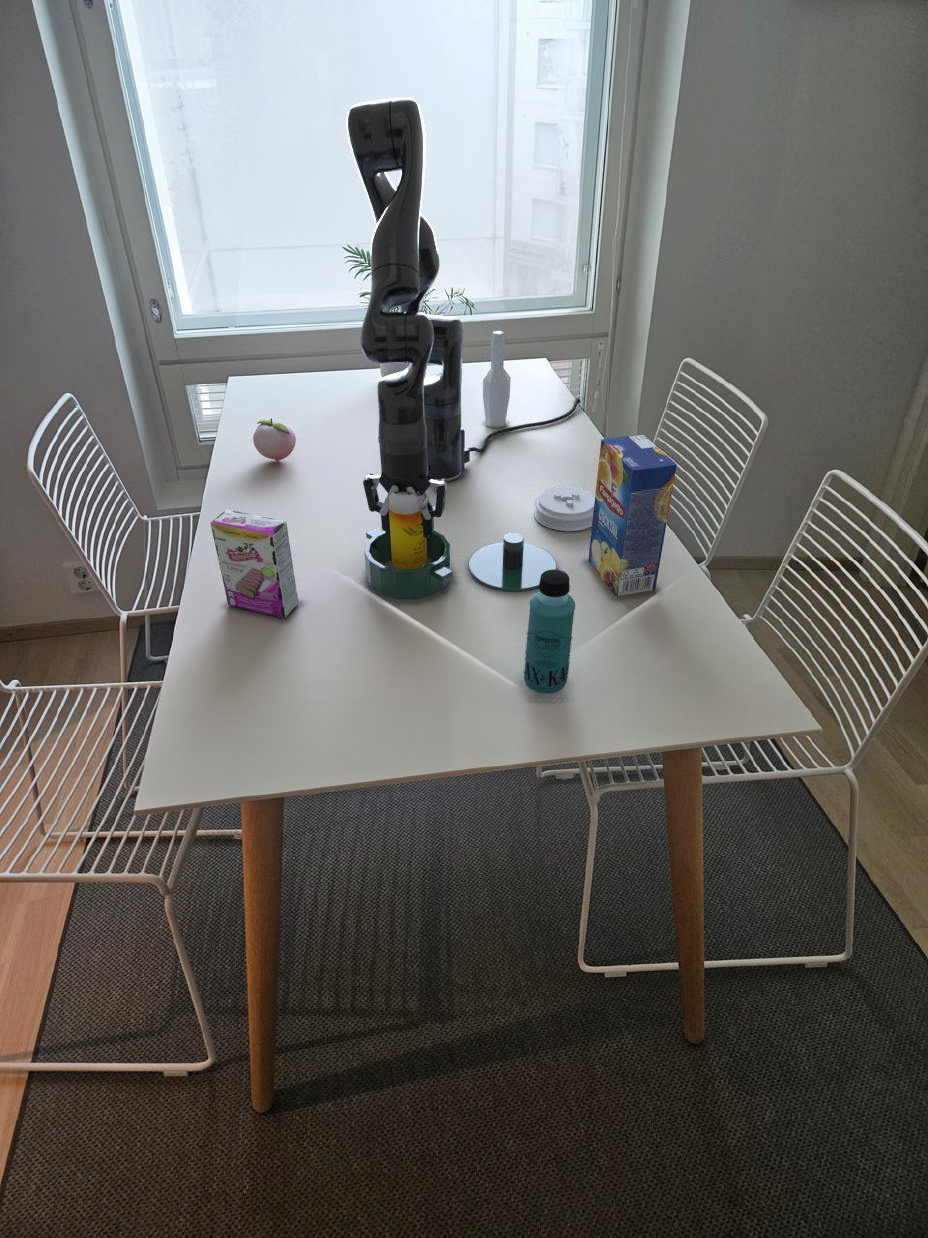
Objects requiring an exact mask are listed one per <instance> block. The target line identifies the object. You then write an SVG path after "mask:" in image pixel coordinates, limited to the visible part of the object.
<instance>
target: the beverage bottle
mask: <svg viewBox="0 0 928 1238" xmlns="http://www.w3.org/2000/svg"><path fill="white" fill-rule="evenodd" d="M570 587H571V585H570V576H569V574H568V573H567V572H565V571H563V570H560V569H556V570H555V569H553V570H547V571H545V572H543V573H542V574H541V577H540V583H539V588H538V590H539V591H537V592H536V593H535V594H533V595H532V596H531V598H530V600H529V613H528V622H527V623H528V625H527V631H526V637H525V640H526V643H525V645H524V646H525V650H524V651H525V652H524V655H525V657H524V670H523V674H522V675H523V679H524V682H525V684H526V686H527V688H528V689H530V690H531V691H533V692H535V693H538V694H543V695H552V694H555V693H558V692H559V691H561V690H563V689H564V687H565V686H566V684H567V681H568V678H569V671H570V664H571V662H570V661H571V660H570V657H571V653H572V640H573V639H574V638H573V627H574V616H575V610H576V602H575V600H574V598H573V597H572V596H571V595H570V594H569V592H570Z"/></svg>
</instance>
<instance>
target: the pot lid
mask: <svg viewBox="0 0 928 1238" xmlns="http://www.w3.org/2000/svg"><path fill="white" fill-rule="evenodd" d="M502 539H503V541H501V542H495V543H491V544H488V545H485V546H483V547H481V548H479V549H478V550H476V551H475V552H474V553H473V554H472V555H471V557H470V558H469V562H468V570H469V573H470V575H471V576H472V578H474V580H475V581H476V582H478V583H480V584H481V585H483V586H485V587H487V588H490V589H493V590H497V591H502V592H509V593H519V592H528V591H533V590H536V589H539V583H540V577H541V574H542V573H543V572H545V571H547V570H553V569H555V570H557V563H556V560H555V558H554V557H553V555H552V554H551V553H550V552H548V551H547V550H546V549H543V548H541V547H539V546H537V545H535V544H531V543H528V542H525V536H524V535H522V534H521V533H519V532H508V533H506V534H505V535H503V538H502Z"/></svg>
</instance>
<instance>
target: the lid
mask: <svg viewBox="0 0 928 1238" xmlns="http://www.w3.org/2000/svg"><path fill="white" fill-rule="evenodd" d="M594 502H595V495H593V494H592V493H591V492H589V491H587V490H585V489H584V488H580V487H575V486H555V487H551V488H548V489H546V490H544V491H543V492H540V493H539V494H538V495H537V496H536V497H535V499H534V507H535V508H534V510H533V516H534V518H535V520H536V521H537V523H539V524H541V525H542V526H544V527H546V528H549V529H551V530H555V531H561V532H578V531H583V530H587V529H590V528H592V521H593V511H594Z"/></svg>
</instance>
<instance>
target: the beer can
mask: <svg viewBox="0 0 928 1238" xmlns="http://www.w3.org/2000/svg"><path fill="white" fill-rule="evenodd" d="M417 493H418V494H419V492H417ZM419 496H420V495H419ZM420 498H421V499H422V501H424V499H425V493H424V494H423V495H422V496H420ZM423 519H424V516H423V515H422V511H421V509H419V499H418V498H417V496H416V495H414V494H410V495H409V494H408V492H400V491H398V492H397V494H396V493H394V492H392V493H391V494H390V496H389V521H390V536H391V550H392V559H391V561H392V564H393V565H394V566H395V568H397V569H414V568H419V567H424V566H425V564H427V562H428V558H427V544H426V538H424V526H423Z"/></svg>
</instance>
